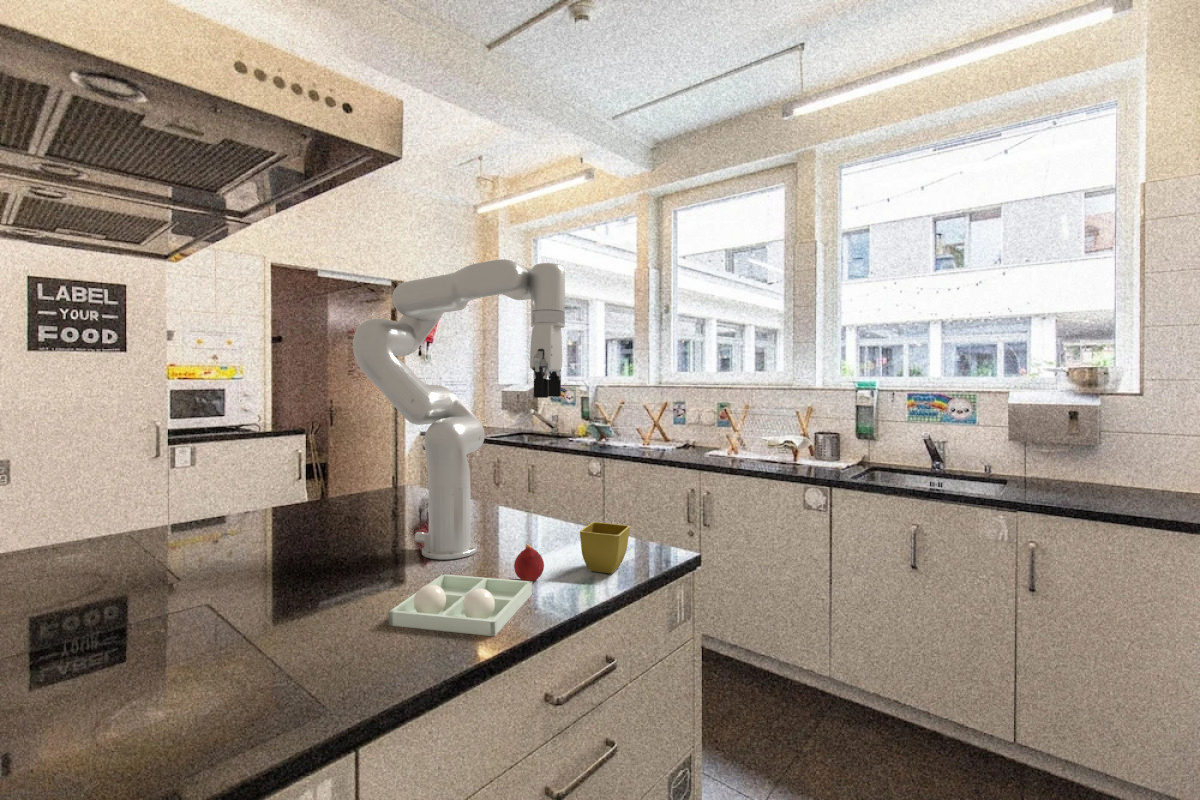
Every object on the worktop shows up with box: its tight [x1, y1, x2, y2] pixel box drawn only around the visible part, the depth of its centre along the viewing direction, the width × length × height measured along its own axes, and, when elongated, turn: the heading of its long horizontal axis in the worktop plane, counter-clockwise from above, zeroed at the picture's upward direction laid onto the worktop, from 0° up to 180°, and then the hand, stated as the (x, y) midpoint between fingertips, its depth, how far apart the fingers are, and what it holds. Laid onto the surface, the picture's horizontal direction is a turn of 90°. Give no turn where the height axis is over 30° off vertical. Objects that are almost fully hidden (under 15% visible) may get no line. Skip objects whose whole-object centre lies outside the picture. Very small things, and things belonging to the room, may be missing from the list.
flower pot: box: [579, 521, 631, 575], centre depth 122 cm, size 9×9×9 cm
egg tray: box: [388, 573, 533, 637], centre depth 98 cm, size 18×18×3 cm
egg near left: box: [414, 583, 446, 614], centre depth 95 cm, size 5×5×5 cm
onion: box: [513, 543, 545, 583], centre depth 112 cm, size 6×6×8 cm
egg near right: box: [463, 588, 495, 619], centre depth 93 cm, size 5×5×5 cm
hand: (547, 397), depth 127 cm, fingers open, 9 cm apart
